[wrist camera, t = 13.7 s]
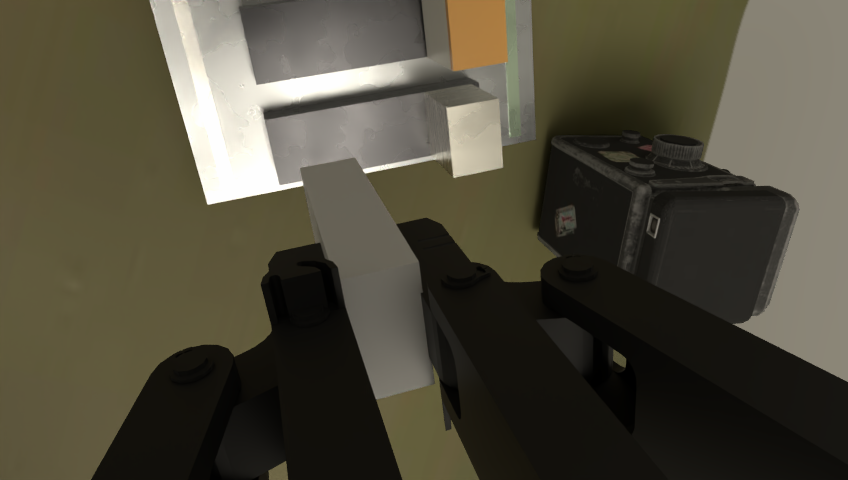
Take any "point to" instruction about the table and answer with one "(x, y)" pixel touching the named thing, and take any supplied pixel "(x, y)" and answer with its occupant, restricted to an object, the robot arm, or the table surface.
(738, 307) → the camera
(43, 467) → the table surface
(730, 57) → the table surface
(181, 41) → the panel
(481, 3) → the block
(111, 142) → the table surface
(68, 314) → the table surface
